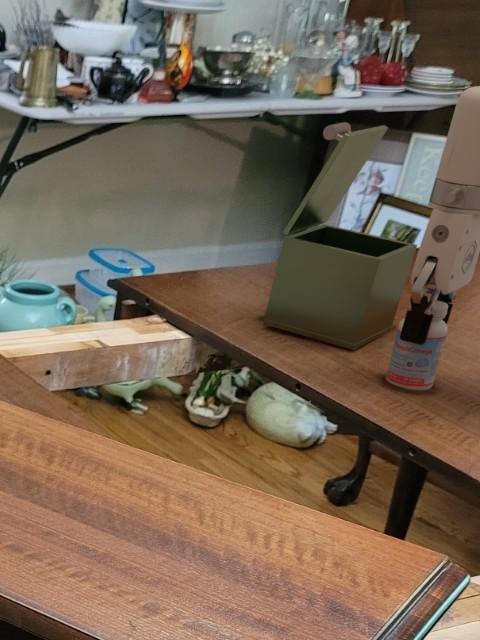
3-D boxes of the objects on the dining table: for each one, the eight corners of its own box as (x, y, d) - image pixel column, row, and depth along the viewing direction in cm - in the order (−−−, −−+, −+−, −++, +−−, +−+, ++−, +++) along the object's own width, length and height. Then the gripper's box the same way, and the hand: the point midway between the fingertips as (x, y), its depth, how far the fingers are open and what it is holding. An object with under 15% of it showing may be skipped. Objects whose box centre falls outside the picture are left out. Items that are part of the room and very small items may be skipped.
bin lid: (388, 127, 162) (360, 109, 164) (349, 136, 153) (319, 116, 155) (326, 222, 173) (300, 204, 175) (286, 235, 164) (259, 216, 166)
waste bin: (390, 331, 172) (417, 244, 165) (353, 350, 163) (380, 259, 156) (302, 307, 181) (324, 224, 173) (262, 324, 172) (284, 237, 165)
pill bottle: (378, 386, 150) (397, 304, 144) (393, 374, 154) (413, 294, 148) (424, 396, 147) (445, 312, 141) (439, 384, 150) (460, 302, 145)
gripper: (470, 211, 130) (425, 358, 139) (518, 192, 140) (473, 329, 150) (406, 200, 134) (367, 343, 143) (458, 182, 145) (418, 316, 154)
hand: (422, 335), depth 147 cm, fingers closed on pill bottle, 6 cm apart
